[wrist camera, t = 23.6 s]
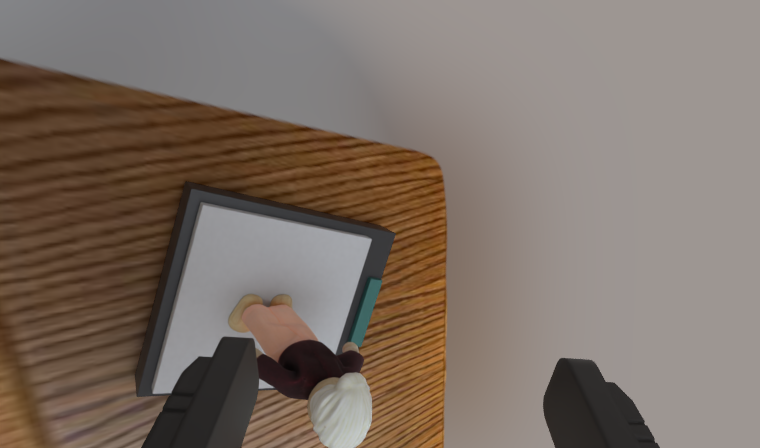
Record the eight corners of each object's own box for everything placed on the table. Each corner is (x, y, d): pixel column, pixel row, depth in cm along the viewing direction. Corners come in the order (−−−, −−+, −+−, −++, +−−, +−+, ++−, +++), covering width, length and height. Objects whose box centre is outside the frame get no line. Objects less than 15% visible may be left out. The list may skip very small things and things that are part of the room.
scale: (185, 180, 27) (193, 190, 24) (380, 225, 36) (401, 236, 33) (134, 376, 28) (137, 405, 26) (334, 370, 38) (350, 391, 35)
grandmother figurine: (211, 348, 27) (272, 502, 17) (212, 294, 26) (277, 424, 16) (318, 328, 32) (419, 443, 21) (322, 281, 31) (429, 378, 20)
